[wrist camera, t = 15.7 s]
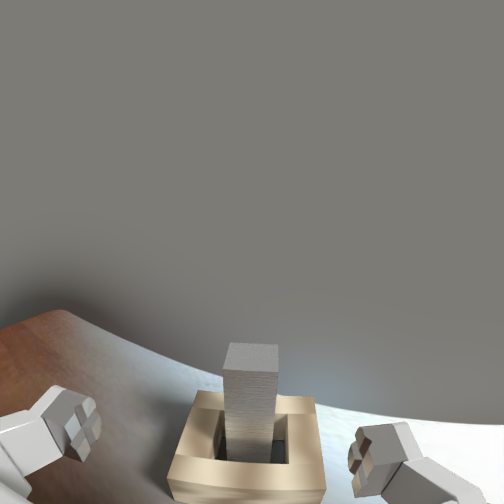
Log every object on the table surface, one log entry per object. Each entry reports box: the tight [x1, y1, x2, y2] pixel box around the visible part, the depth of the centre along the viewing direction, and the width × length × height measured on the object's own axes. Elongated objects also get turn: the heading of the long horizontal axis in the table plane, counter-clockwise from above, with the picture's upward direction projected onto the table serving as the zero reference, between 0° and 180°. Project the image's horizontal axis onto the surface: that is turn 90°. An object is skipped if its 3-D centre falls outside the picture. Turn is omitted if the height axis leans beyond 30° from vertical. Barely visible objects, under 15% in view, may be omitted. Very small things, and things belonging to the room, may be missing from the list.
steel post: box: [223, 342, 278, 464], centre depth 24 cm, size 4×4×14 cm
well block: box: [167, 390, 326, 504], centre depth 25 cm, size 13×13×4 cm
